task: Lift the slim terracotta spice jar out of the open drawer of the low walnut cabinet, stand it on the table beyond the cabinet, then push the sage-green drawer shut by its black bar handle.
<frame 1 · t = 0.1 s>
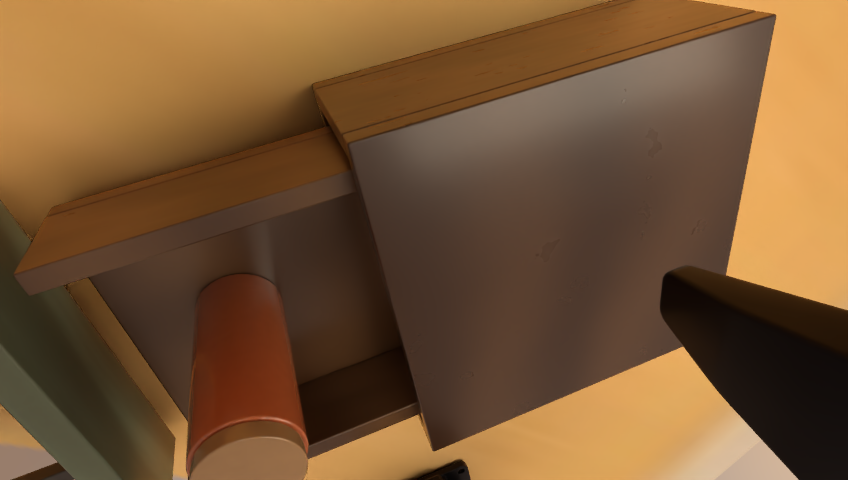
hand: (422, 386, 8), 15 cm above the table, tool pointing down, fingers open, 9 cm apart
cabinet: (503, 191, 25), on the table
drawer: (180, 349, 20), point 3 cm above the table, slide at 11.0 cm, touching spice jar
spice jar: (240, 308, 21), point 2 cm above the table, touching drawer
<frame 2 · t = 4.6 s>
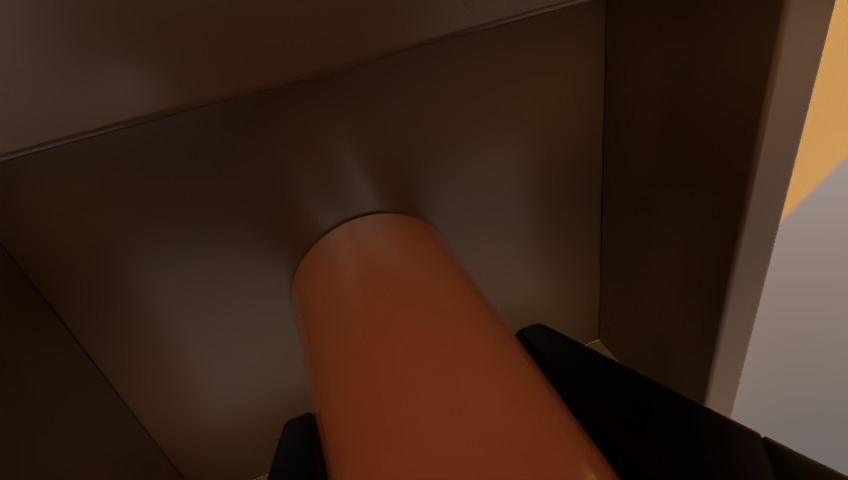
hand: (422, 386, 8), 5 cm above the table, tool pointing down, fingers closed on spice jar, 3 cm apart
drawer: (417, 406, 11), point 3 cm above the table, slide at 11.0 cm, touching spice jar
spice jar: (376, 286, 11), point 2 cm above the table, touching drawer, gripper
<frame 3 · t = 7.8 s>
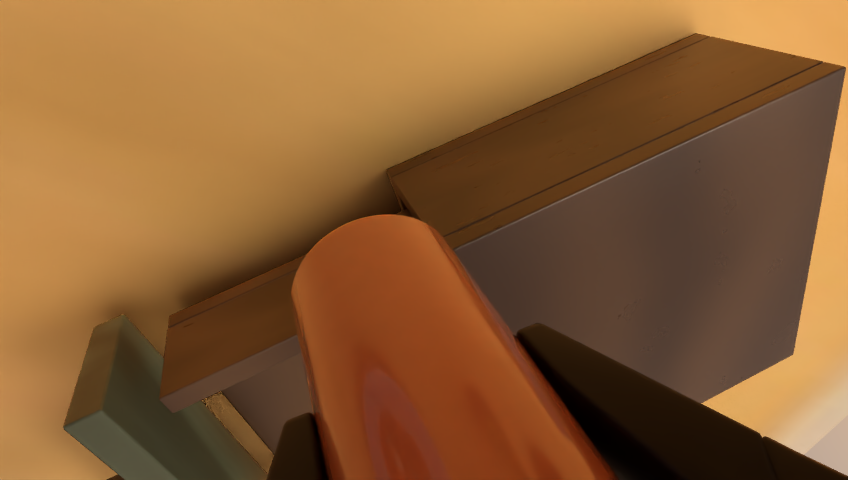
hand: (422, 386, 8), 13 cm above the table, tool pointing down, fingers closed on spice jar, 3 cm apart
cabinet: (569, 235, 26), on the table
drawer: (291, 426, 21), point 3 cm above the table, slide at 11.0 cm
spice jar: (376, 287, 11), point 10 cm above the table, touching gripper
when the fingers open (3 cm above the table, at t = 11.0 s): spice jar stays where it is, on the table.
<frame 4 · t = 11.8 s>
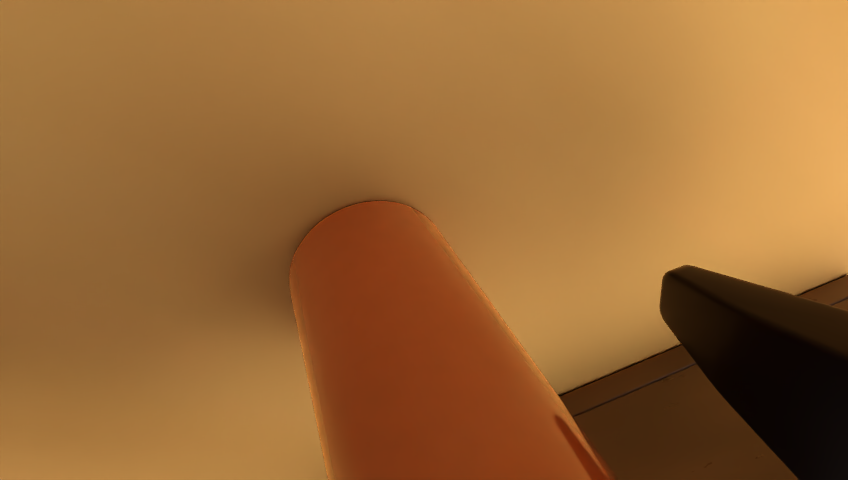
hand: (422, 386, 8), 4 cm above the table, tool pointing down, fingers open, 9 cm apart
spice jar: (370, 271, 11), on the table
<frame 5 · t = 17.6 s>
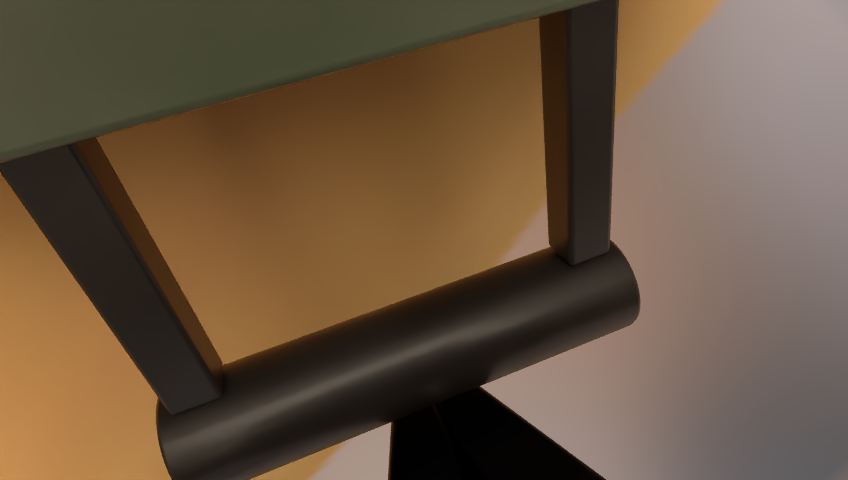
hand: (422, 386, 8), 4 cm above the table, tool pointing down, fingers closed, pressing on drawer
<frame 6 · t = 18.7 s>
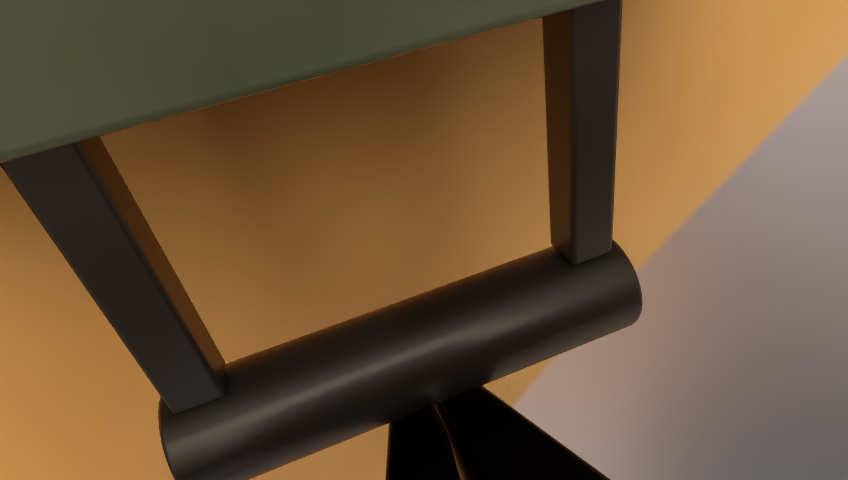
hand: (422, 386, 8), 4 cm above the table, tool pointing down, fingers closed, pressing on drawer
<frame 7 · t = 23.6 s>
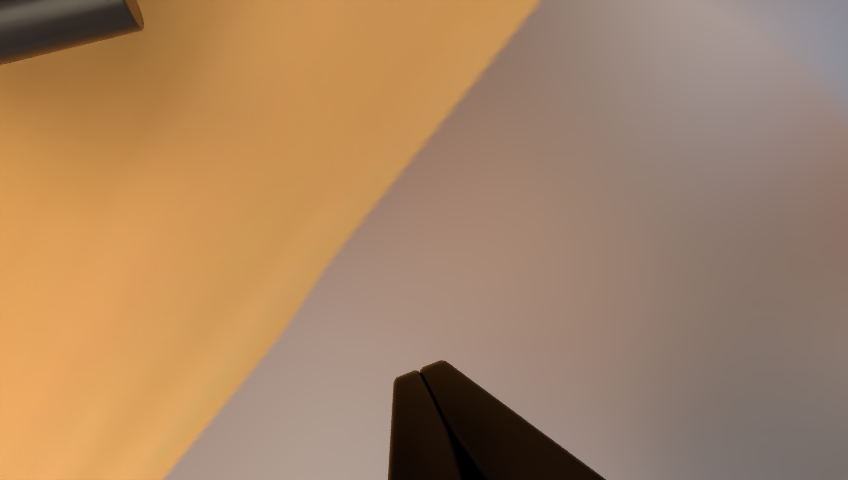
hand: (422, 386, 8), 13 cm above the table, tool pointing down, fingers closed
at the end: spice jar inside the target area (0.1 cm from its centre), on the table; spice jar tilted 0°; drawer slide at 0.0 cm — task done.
